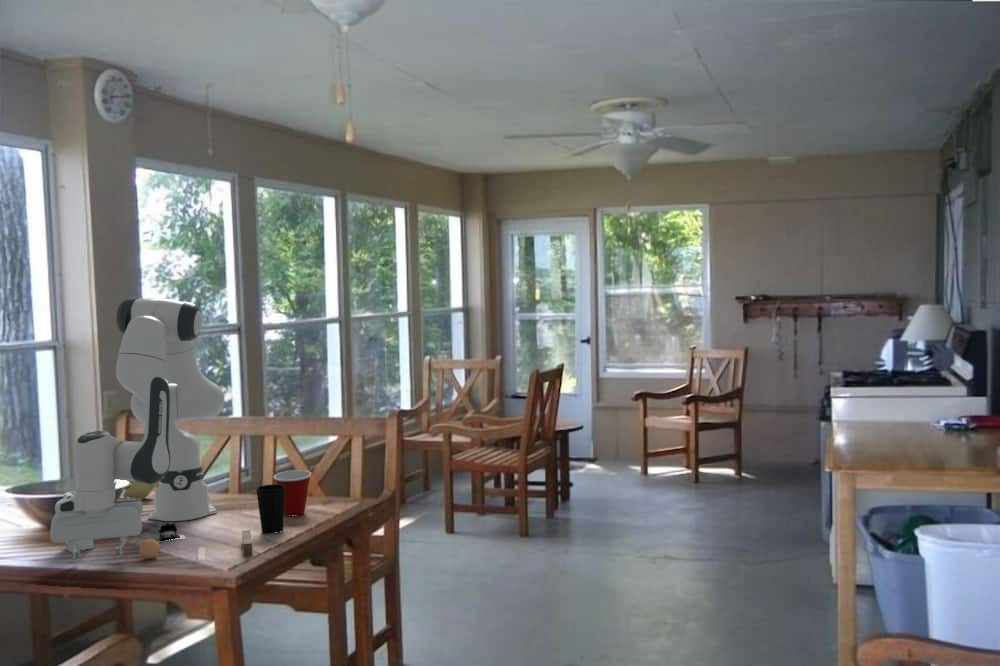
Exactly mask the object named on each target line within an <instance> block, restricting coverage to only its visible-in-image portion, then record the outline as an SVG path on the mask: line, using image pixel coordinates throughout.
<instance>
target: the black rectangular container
mask: <svg viewBox="0 0 1000 666" xmlns="http://www.w3.org/2000/svg"><path fill="white" fill-rule="evenodd" d="M158 525H159V526H158V527H157V532H158V536H157V537H151V538H152V539H154V540H156V541H157V542H158V541H165V540H169V539H170V540H171V539H175V538H180V536H179V535H180V534H177V533H178V532H177V531H178V528H177V526H176V523H175V521H166V522H161V523H159V524H158ZM167 532H173V533H170V534H165V535H164V533H167Z"/></svg>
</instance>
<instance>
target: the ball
mask: <svg viewBox="0 0 1000 666" xmlns="http://www.w3.org/2000/svg"><path fill="white" fill-rule="evenodd" d="M160 550H161V546H160V542H159V543H158V542H157V541H156V540H154V539H151V538H147V539H144V540H142V542H141V543H140V545H139V547H138V552H139V554H140V556H141V557H142V558H143V559H147V560H150V559H151V558H152V559H154V558H155V557H157V556H158V555H159V553H160Z"/></svg>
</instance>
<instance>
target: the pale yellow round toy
mask: <svg viewBox="0 0 1000 666" xmlns="http://www.w3.org/2000/svg"><path fill="white" fill-rule="evenodd" d="M129 482H130V483H131V487H130V488H128V489H127V490H126V491H125V492H124V494H123V493H122V498H130V497H135V498H137V499H139V500H141V502H142V501H143V500H144V498H147V497H148V496H149V495H151V493H152V491H153V490H155V489H156V488H157V487H158V486H159V485H160V483H161V482H160V480H159V481H158V482H156V483H154V484H147V483H142V482H137V481H129Z"/></svg>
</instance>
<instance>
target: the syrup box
mask: <svg viewBox="0 0 1000 666" xmlns="http://www.w3.org/2000/svg"><path fill="white" fill-rule="evenodd" d="M74 494H75V490H71V491H67V492H65V493H64V494H63V498H65V497H68V496H71V495H74ZM64 543H65V544H64V545H65V549H66V550H68V552H69V553H72V552H71V551H70V549H69V548H68V547H67V542H64ZM94 545H95V544H94V540H83V541H75V544H74V547H75V549H76V550H77V551H80V550H82V551H86V549H88V550H93V549H94V548H95V547H94ZM92 548H93V549H92Z"/></svg>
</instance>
